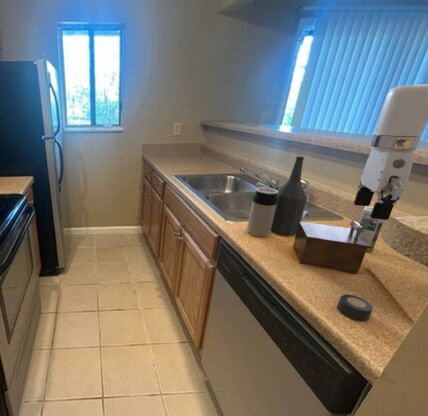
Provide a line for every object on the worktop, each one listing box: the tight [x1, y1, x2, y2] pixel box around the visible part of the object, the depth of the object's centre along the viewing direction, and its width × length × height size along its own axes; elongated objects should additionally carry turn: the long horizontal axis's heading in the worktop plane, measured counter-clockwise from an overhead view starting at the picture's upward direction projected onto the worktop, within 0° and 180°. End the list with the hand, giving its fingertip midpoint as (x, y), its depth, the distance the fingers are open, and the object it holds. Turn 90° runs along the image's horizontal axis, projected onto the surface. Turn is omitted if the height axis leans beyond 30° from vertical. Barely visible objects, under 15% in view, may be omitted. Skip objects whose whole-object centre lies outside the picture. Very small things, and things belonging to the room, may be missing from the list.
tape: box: [336, 294, 374, 322], centre depth 67 cm, size 6×6×3 cm
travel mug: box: [246, 186, 279, 238], centre depth 105 cm, size 8×8×18 cm
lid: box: [299, 220, 372, 249], centre depth 86 cm, size 15×13×5 cm
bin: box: [292, 225, 367, 275], centre depth 89 cm, size 15×13×9 cm
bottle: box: [270, 155, 308, 237], centre depth 105 cm, size 10×10×30 cm
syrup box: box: [358, 205, 385, 253], centre depth 95 cm, size 6×6×14 cm
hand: (369, 211), depth 69 cm, fingers open, 9 cm apart
